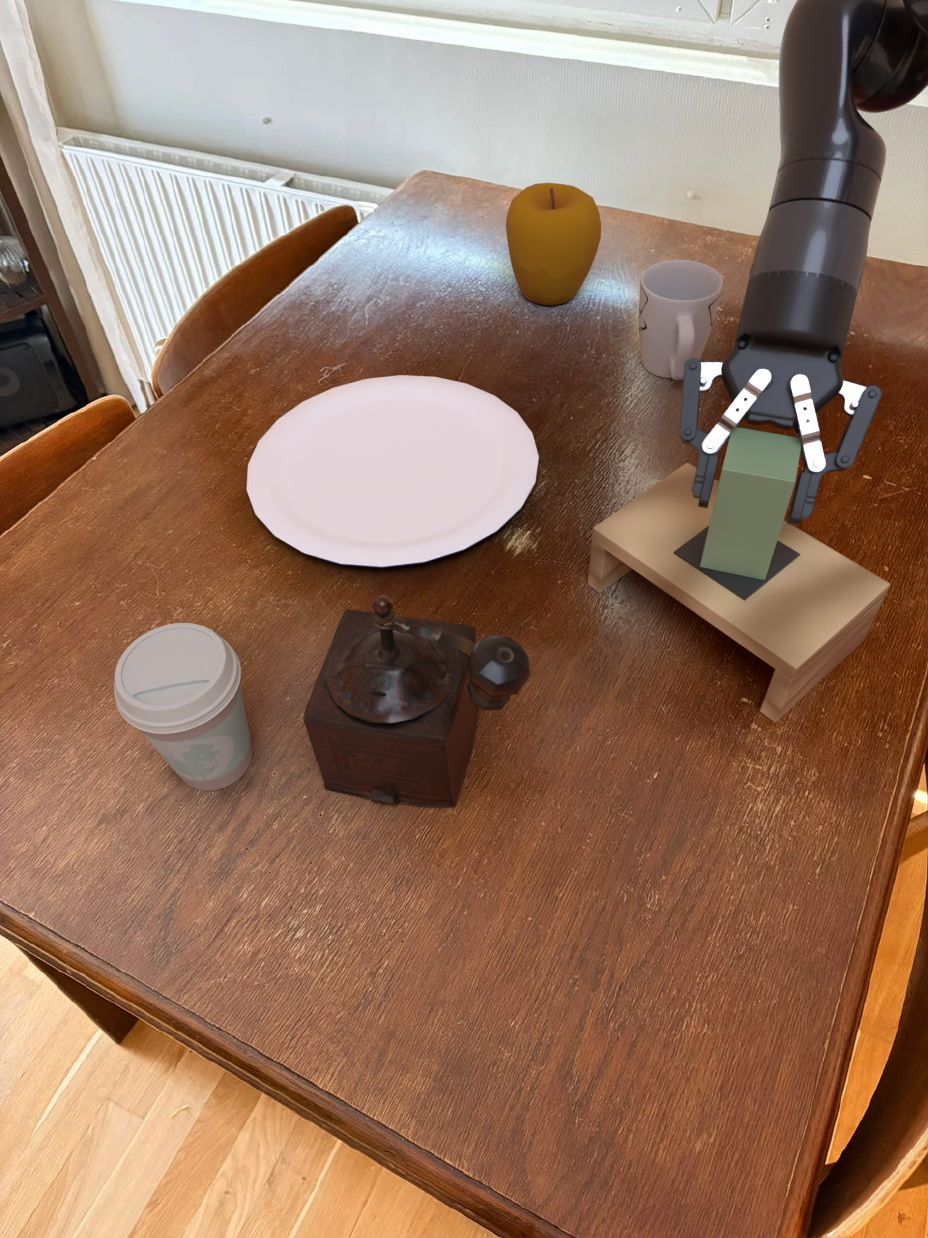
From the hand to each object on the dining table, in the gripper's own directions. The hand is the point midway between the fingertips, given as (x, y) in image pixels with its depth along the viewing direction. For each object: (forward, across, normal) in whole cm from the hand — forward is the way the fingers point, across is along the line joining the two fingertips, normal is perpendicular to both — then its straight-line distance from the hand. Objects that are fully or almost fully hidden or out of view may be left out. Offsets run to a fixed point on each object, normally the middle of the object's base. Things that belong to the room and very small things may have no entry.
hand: (747, 514), depth 66 cm
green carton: (+3, 0, +5) cm, 6 cm away
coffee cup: (+27, -35, -8) cm, 44 cm away
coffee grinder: (+22, -19, -4) cm, 29 cm away
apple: (-25, -28, +43) cm, 57 cm away
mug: (-16, -10, +34) cm, 39 cm away
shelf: (+8, 0, +10) cm, 13 cm away
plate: (+2, -34, +17) cm, 38 cm away
